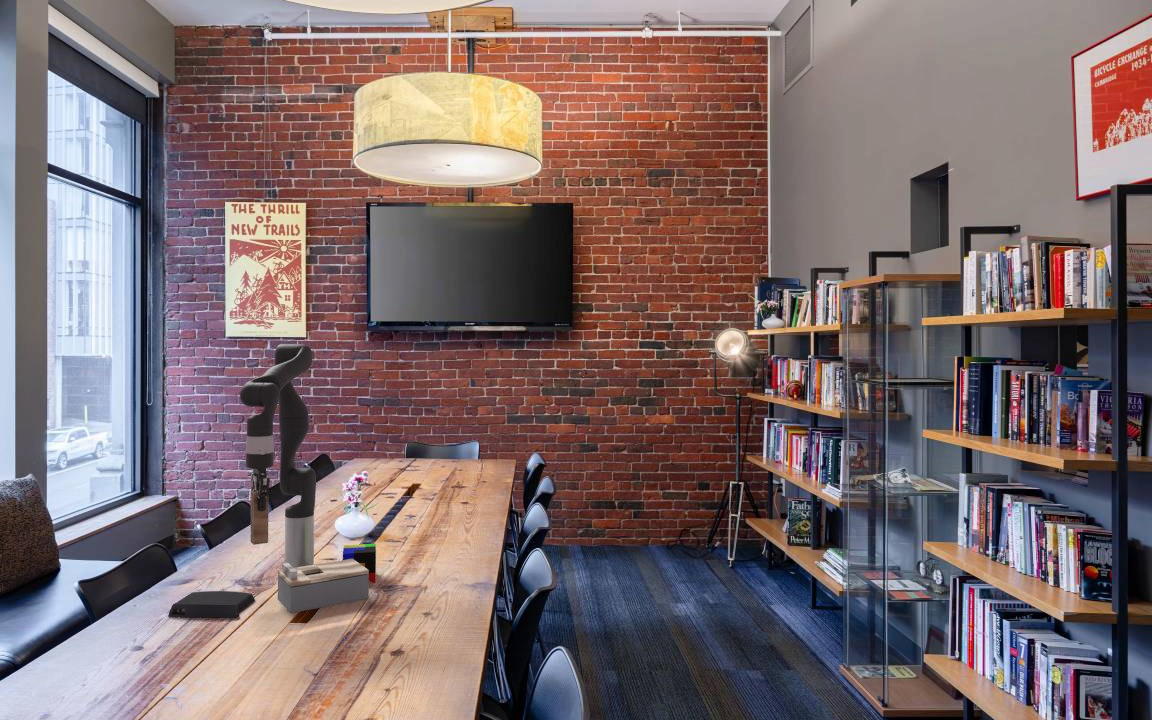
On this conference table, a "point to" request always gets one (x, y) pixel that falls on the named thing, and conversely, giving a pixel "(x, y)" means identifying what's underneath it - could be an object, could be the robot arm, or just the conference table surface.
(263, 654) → the conference table surface
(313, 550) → the robot arm
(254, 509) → the brown block
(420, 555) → the conference table surface
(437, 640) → the conference table surface
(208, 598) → the external hard drive
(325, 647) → the conference table surface
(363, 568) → the lid
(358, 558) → the puzzle toy
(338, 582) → the toolbox
